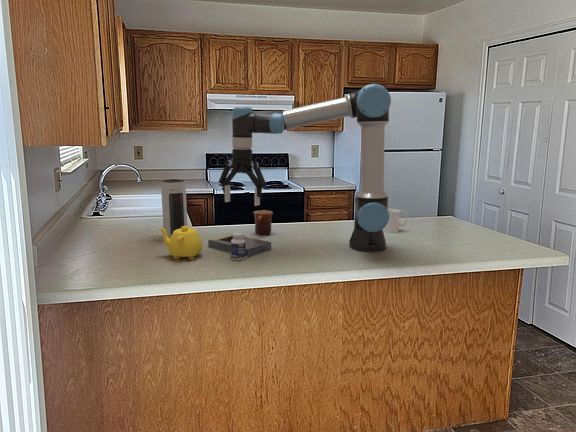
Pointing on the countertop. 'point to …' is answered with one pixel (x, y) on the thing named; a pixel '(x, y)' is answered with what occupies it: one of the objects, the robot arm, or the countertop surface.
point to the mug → (263, 222)
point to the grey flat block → (251, 245)
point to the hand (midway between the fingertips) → (242, 203)
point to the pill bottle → (238, 247)
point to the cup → (394, 221)
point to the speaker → (173, 205)
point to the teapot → (183, 242)
